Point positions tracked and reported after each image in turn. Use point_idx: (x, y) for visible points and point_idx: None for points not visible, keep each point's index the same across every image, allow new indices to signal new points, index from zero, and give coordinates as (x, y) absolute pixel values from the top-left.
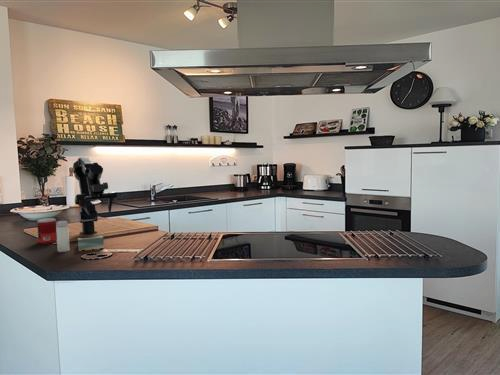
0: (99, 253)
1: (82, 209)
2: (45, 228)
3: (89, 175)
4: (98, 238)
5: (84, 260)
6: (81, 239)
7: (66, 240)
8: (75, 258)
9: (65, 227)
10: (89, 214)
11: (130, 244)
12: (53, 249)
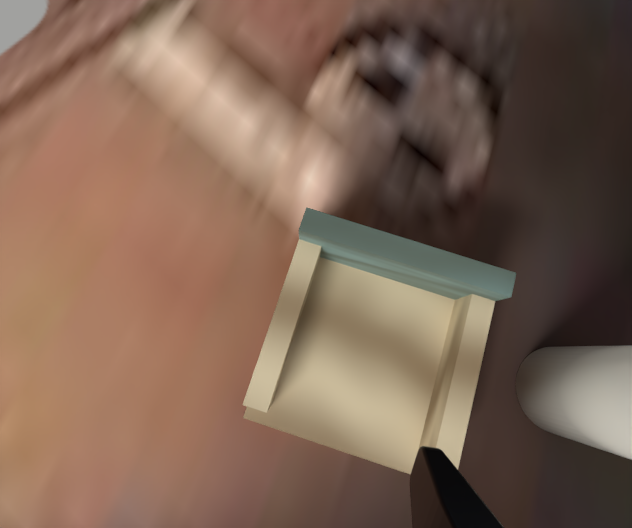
0: (376, 139)
1: None
2: None
3: None
4: (345, 223)
5: (495, 61)
6: (487, 265)
7: (600, 348)
8: (528, 133)
9: None
10: (429, 450)
11: (109, 212)
12: (618, 489)
